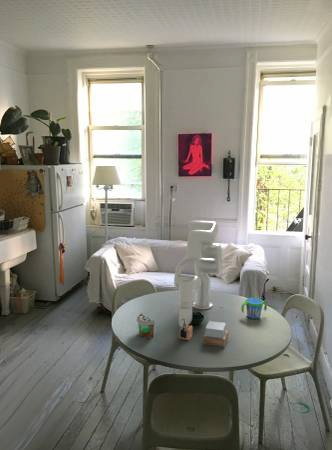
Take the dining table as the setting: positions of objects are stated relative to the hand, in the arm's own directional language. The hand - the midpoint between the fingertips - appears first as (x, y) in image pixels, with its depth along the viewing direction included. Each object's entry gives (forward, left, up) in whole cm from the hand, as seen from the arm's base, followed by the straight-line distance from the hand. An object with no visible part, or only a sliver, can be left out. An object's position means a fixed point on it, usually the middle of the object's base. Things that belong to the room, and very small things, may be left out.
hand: (185, 333), depth 206 cm
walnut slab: (-1, +16, -2) cm, 16 cm away
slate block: (-1, +16, +2) cm, 16 cm away
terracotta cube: (0, 0, -2) cm, 2 cm away
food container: (+6, -22, -2) cm, 23 cm away
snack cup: (-38, +31, -2) cm, 49 cm away
